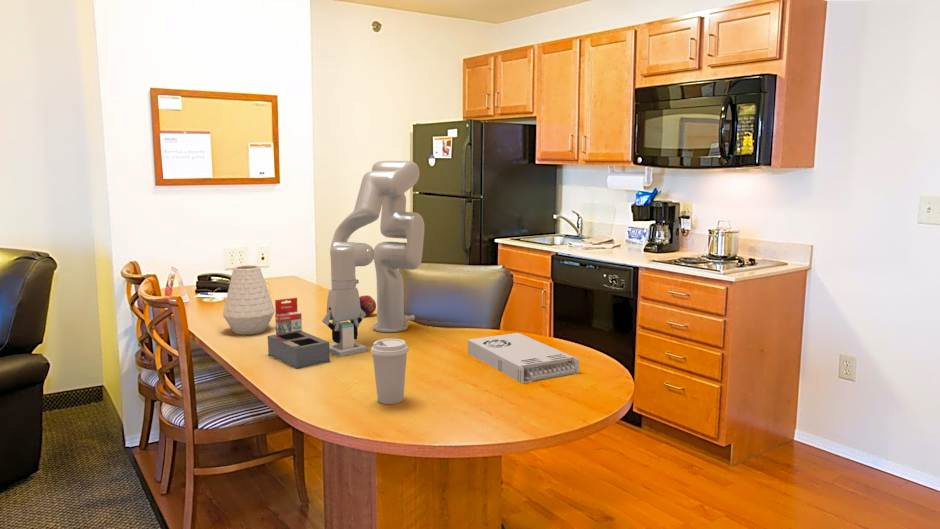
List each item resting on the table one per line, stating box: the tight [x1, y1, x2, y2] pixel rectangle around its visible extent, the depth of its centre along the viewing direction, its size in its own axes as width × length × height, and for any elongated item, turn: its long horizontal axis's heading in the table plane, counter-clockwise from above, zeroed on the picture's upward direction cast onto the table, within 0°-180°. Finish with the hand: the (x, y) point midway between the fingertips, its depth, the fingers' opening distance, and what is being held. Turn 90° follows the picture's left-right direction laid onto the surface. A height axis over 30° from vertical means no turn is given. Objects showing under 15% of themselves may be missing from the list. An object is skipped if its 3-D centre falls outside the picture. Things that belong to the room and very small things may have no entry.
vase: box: [222, 264, 276, 336], centre depth 234 cm, size 18×17×23 cm
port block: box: [267, 330, 331, 370], centre depth 204 cm, size 11×19×6 cm, turn 41°
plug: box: [337, 320, 355, 350], centre depth 211 cm, size 4×4×9 cm
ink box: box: [274, 297, 303, 335], centre depth 221 cm, size 4×8×15 cm, turn 123°
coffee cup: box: [370, 338, 410, 405], centre depth 167 cm, size 10×10×15 cm
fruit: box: [359, 294, 377, 317], centre depth 259 cm, size 8×8×8 cm
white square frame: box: [329, 341, 368, 358], centre depth 212 cm, size 10×10×2 cm
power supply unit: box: [467, 332, 580, 385], centre depth 199 cm, size 19×33×5 cm, turn 28°
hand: (345, 339), depth 211 cm, fingers open, 5 cm apart
